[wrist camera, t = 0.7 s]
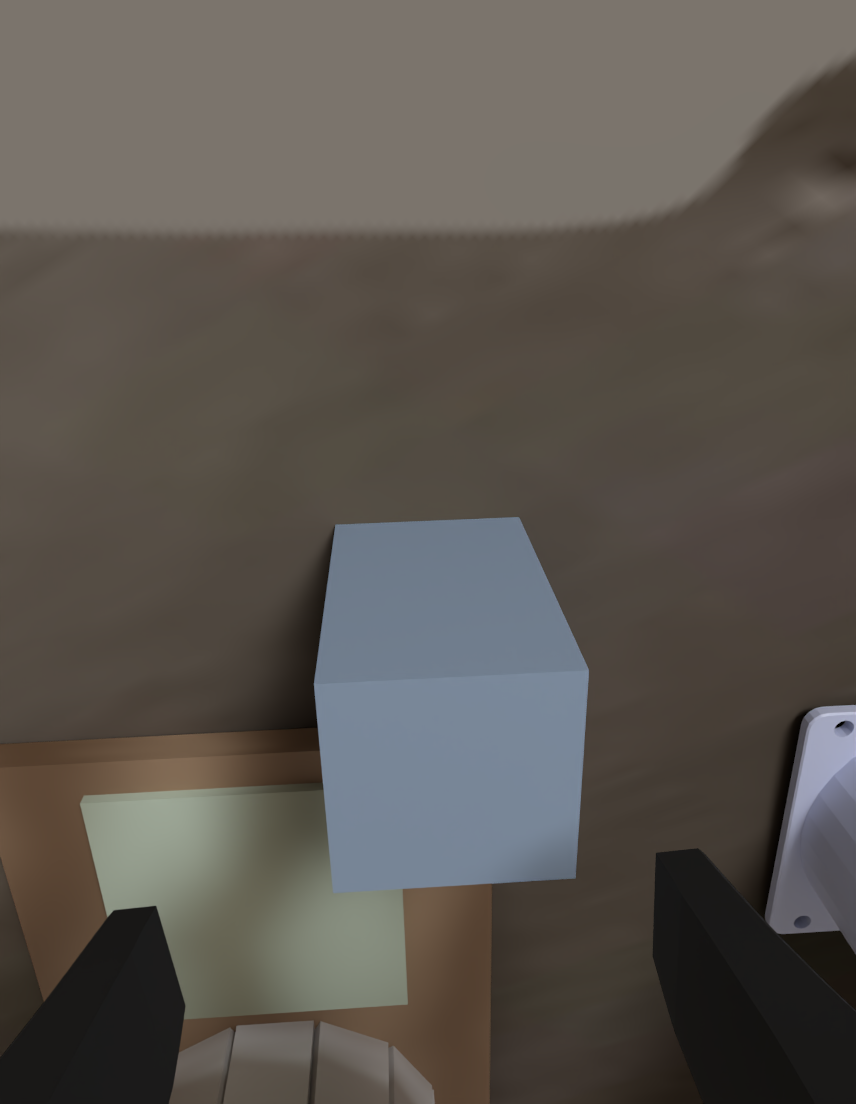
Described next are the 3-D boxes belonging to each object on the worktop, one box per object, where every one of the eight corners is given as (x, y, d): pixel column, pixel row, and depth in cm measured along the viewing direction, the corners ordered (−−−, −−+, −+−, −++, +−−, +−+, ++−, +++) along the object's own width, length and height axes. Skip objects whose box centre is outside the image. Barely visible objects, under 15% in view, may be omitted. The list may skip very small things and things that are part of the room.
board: (488, 718, 22) (508, 808, 18) (485, 1178, 29) (498, 1297, 26) (-9, 744, 21) (-79, 841, 18) (123, 1206, 29) (91, 1331, 26)
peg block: (519, 517, 19) (589, 670, 13) (515, 674, 21) (575, 878, 15) (335, 524, 19) (314, 684, 13) (346, 682, 21) (332, 892, 14)
